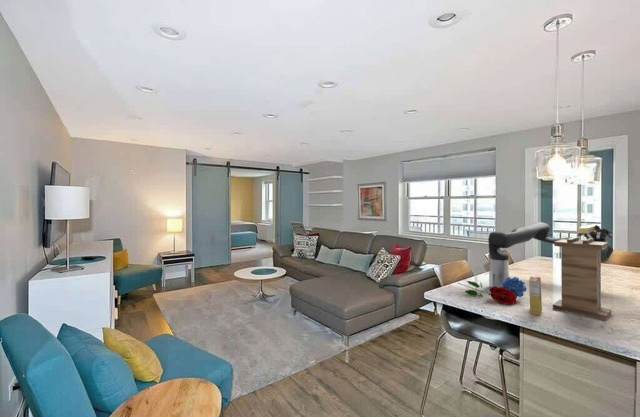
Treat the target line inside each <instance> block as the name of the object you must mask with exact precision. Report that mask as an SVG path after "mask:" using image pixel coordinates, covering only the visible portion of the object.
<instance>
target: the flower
mask: <svg viewBox="0 0 640 417" xmlns="http://www.w3.org/2000/svg"><path fill="white" fill-rule="evenodd" d="M466 282H467V283H468V285H471V286H472V287H471V286H468V285H465V284H463V283H460V282H457V284H459V285H461V286H465V287H466V288H470V289H466V290H465V291H464V292H465V293H466V294H468V295H470V296H472V295H475V296H476V297H477V296H478V295H479V296H482V297H483V294H482V293H486V294H487V295H488V296H490V297H491V298H492V300H494V301H496V302H497V303H499V304H500V305H504V304H506V305H513V304H516V303H517V302H518V301H517V298H516V296H515V294H514V293H513V292H512V291H510V290H508V289H506V288H504V287H496V286H495V287H492V288H491V287H490V288H489V292H487V291H482V290H480V289H477V288H483V285H482V282H481V281H479V282H480V285H479V284H478V283H477V282H475V281H471V280H470V281H469V280H468V281H467V280H466ZM474 287H475V288H474ZM481 292H482V293H481ZM475 296H474V297H475Z"/></svg>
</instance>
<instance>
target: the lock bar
mask: <svg viewBox="0 0 640 417" xmlns="http://www.w3.org/2000/svg"><path fill="white" fill-rule="evenodd" d="M586 225H587V226H586ZM586 225H583V226H579V227H578V228H577V229H578V230H577V231H578V232H577V234H578V233H584V234H585V233H590V232H593V231H596V230H595V225H596V224H586Z"/></svg>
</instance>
